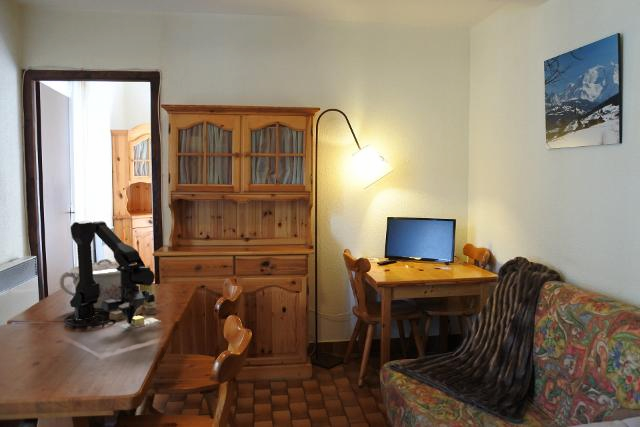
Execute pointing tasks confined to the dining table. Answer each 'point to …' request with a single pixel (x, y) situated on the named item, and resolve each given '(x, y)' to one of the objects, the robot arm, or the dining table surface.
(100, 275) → the chamber pot
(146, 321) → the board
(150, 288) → the vase
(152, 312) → the walnut cube
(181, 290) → the dining table surface
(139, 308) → the peach rounded capsule
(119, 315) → the walnut cube
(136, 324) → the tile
